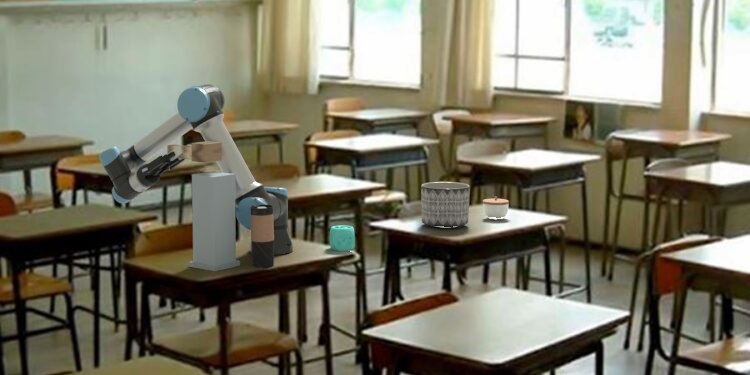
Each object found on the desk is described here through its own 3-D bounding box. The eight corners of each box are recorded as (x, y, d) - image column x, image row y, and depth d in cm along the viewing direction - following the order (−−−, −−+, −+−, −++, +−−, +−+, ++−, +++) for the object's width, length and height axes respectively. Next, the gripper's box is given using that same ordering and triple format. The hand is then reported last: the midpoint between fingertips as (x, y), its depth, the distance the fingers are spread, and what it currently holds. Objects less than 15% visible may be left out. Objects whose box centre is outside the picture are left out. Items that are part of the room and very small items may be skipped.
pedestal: (189, 266, 410) (187, 174, 406) (214, 260, 420) (213, 170, 415) (214, 271, 403) (213, 177, 399) (240, 265, 413) (239, 174, 408)
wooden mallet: (162, 157, 415) (162, 139, 414) (179, 155, 421) (179, 138, 420) (204, 162, 403) (204, 144, 402) (221, 160, 409) (221, 142, 408)
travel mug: (271, 267, 409) (269, 208, 406) (249, 267, 410) (247, 208, 407) (277, 262, 416) (275, 204, 413) (255, 262, 418) (254, 204, 415)
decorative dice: (329, 247, 445) (329, 225, 444) (351, 246, 447) (351, 225, 445) (332, 251, 438) (332, 229, 436) (354, 251, 439) (354, 229, 438)
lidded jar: (498, 216, 514) (499, 193, 513) (513, 220, 505) (514, 197, 504) (477, 218, 509) (477, 195, 508) (492, 222, 500) (492, 199, 499)
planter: (411, 226, 487) (411, 185, 485) (437, 220, 503) (438, 180, 500) (452, 232, 476) (453, 190, 474) (478, 225, 492) (478, 184, 489)
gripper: (166, 184, 433) (207, 156, 419) (131, 189, 420) (172, 160, 406) (158, 165, 434) (199, 136, 420) (123, 169, 421) (163, 140, 407)
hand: (185, 148), depth 413 cm, fingers closed on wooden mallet, 3 cm apart
